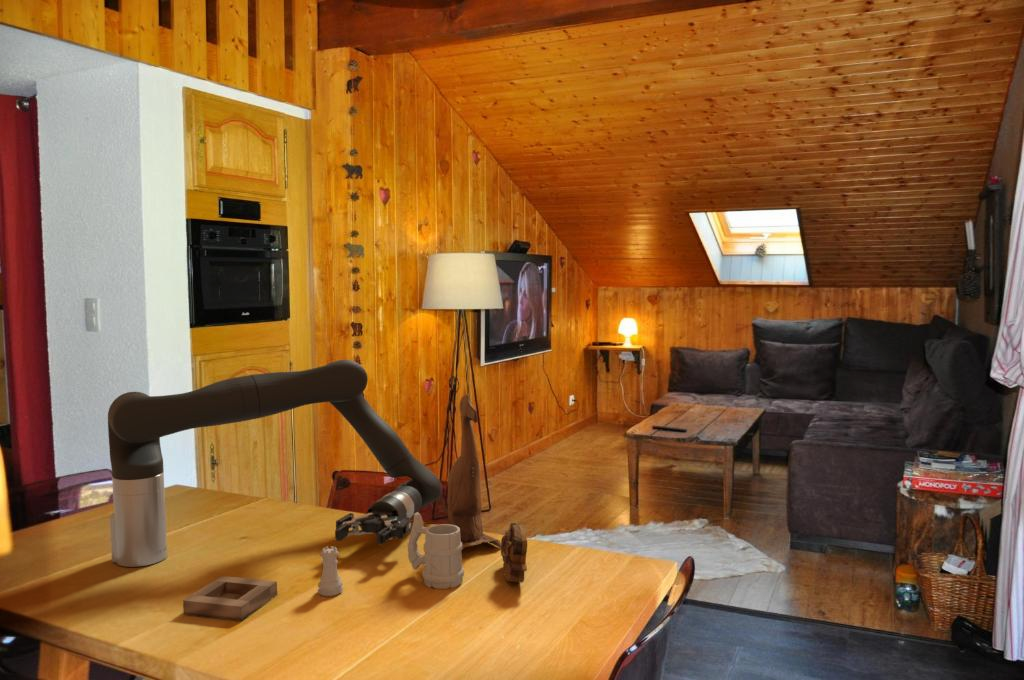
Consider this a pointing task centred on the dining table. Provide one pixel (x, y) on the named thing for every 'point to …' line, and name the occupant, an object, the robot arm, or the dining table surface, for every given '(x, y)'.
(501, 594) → the dining table surface
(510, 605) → the dining table surface
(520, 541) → the wooden carving
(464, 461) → the bird sculpture
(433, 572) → the mug
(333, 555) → the rook chess piece
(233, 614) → the square tray
